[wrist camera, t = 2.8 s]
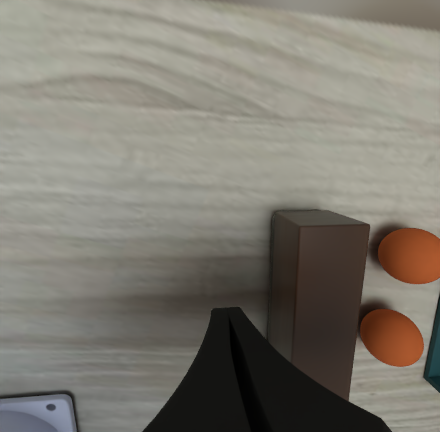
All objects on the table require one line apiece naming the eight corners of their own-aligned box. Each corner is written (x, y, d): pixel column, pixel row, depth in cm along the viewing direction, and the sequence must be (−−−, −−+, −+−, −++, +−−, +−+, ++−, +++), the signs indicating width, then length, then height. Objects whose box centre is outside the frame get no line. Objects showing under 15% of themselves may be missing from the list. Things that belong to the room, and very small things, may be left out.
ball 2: (347, 341, 15) (381, 382, 12) (351, 300, 15) (389, 333, 12) (390, 338, 16) (434, 378, 13) (396, 297, 15) (444, 329, 12)
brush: (264, 361, 15) (287, 428, 11) (270, 208, 13) (299, 226, 9) (309, 357, 15) (346, 422, 11) (321, 207, 13) (371, 224, 9)
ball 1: (363, 270, 14) (404, 296, 11) (368, 223, 14) (414, 238, 11) (408, 268, 15) (460, 293, 12) (416, 221, 14) (473, 236, 11)
